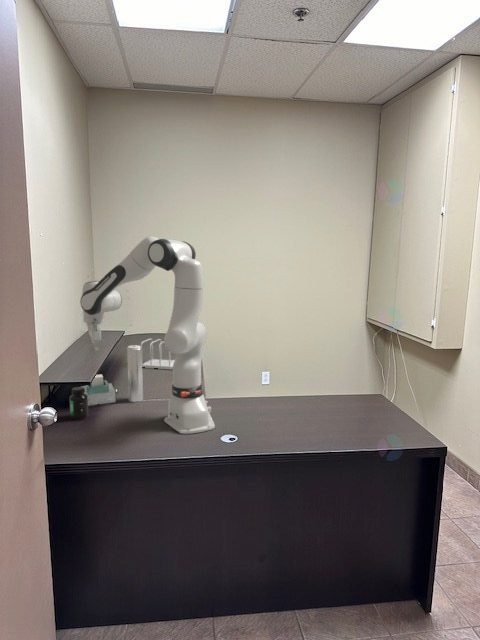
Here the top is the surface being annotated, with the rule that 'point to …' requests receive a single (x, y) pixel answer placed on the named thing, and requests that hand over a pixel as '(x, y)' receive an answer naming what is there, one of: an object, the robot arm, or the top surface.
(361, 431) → the top surface
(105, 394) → the motor housing
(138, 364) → the silver metal cylinder
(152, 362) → the file sorter
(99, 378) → the pump block
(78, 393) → the supplement bottle
